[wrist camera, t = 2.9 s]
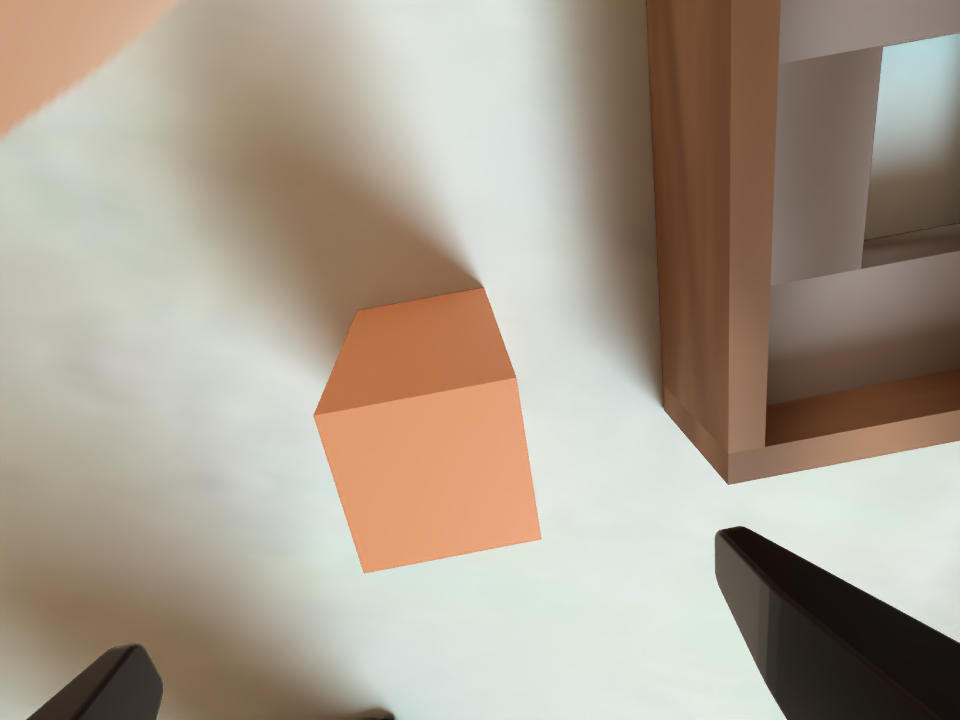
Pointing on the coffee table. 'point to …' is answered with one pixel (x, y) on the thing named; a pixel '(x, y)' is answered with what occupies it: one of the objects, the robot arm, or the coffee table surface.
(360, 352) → the peg
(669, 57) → the socket box
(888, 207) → the coffee table surface
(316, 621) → the coffee table surface
